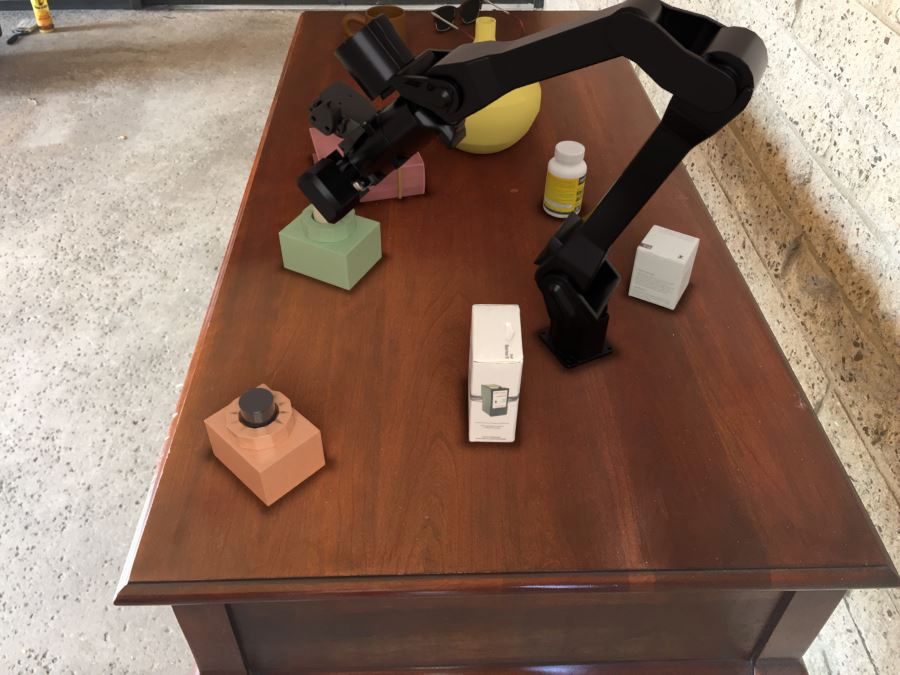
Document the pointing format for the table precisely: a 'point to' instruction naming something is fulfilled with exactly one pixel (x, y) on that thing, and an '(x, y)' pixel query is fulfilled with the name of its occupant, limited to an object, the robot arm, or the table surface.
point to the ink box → (494, 372)
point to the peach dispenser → (267, 448)
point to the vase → (500, 110)
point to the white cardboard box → (663, 266)
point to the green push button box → (331, 247)
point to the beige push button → (319, 216)
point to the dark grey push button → (257, 407)
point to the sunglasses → (462, 15)
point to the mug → (392, 12)
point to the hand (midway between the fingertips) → (325, 192)
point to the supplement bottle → (565, 180)
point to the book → (394, 185)
